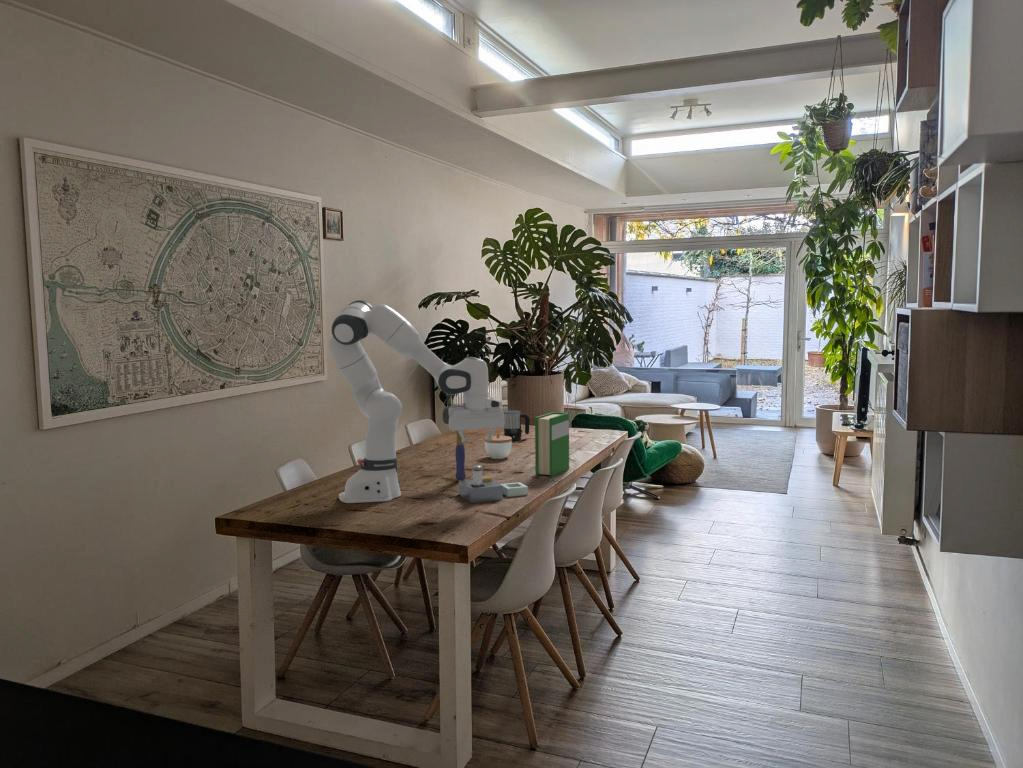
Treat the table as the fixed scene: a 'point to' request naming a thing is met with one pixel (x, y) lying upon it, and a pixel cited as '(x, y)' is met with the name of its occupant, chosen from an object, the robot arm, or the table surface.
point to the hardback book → (552, 443)
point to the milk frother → (515, 424)
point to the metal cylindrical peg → (477, 476)
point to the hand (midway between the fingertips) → (477, 441)
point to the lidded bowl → (498, 446)
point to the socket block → (480, 491)
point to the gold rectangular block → (486, 478)
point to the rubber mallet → (457, 450)
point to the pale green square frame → (514, 489)
